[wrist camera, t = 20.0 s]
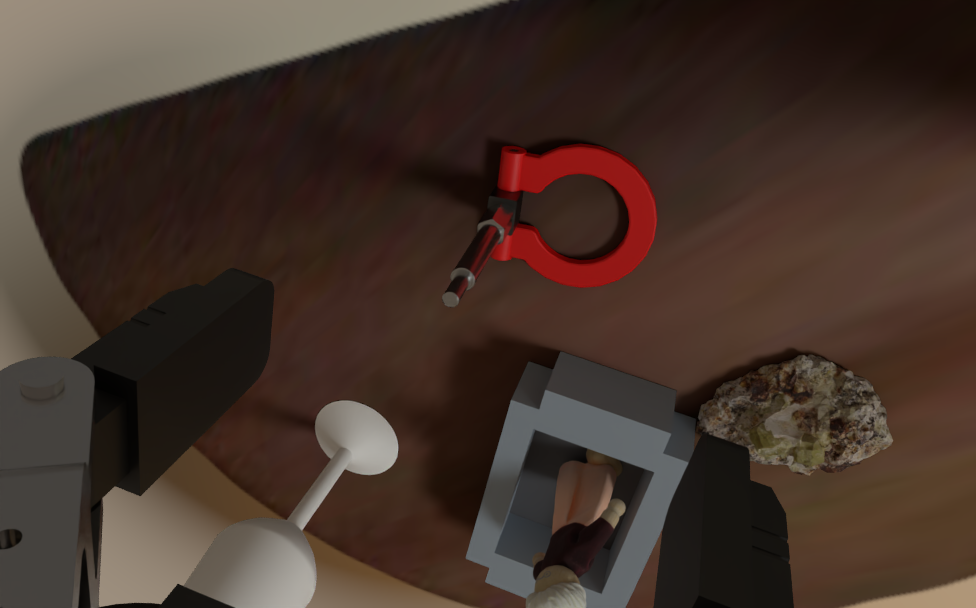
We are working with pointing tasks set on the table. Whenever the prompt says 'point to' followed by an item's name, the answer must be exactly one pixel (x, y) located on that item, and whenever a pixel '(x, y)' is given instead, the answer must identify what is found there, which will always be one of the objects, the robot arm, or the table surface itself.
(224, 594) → the champagne flute
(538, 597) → the grandmother figurine
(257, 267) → the table surface
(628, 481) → the well block
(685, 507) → the robot arm
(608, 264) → the tow hook
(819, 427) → the mineral rock
